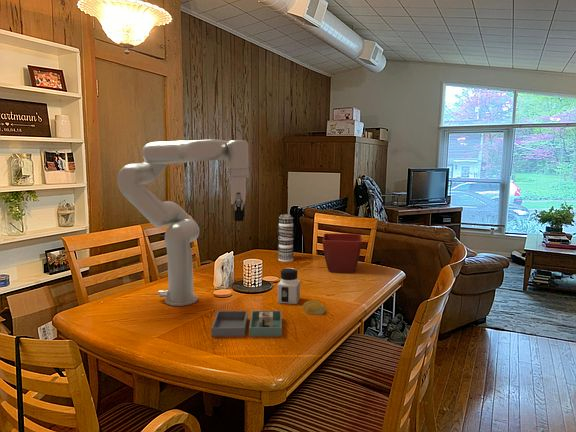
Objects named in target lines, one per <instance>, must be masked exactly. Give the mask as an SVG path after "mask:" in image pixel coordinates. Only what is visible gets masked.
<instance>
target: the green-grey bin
mask: <svg viewBox="0 0 576 432" xmlns="http://www.w3.org/2000/svg"><path fill="white" fill-rule="evenodd" d="M260 312H273V327H259V313H260ZM282 316H283V315H282V310H251V313H250V321H249V326H248V336H249V338H250V337H251V338H255V337H257V338H258V337H260V338H261V337H265V338H266V337H268V338H269V337H275V338H276V337H279V338H280V337H283V327H282V326H283V325H282V323H283V318H282Z"/></svg>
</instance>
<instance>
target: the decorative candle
mask: <svg viewBox="0 0 576 432" xmlns="http://www.w3.org/2000/svg"><path fill="white" fill-rule="evenodd" d="M278 218H279V219H278V224H277V225H278V226H277V229H278V230H277V235H278V236H277V238H278V246H277V248H278V250H277V251H278V253H277V254H278V256H277V257H278V261H279V262H284V263H285V262H287V263H288V262H292V261H294V250H295V249H294V243H293V242H294V241H293V240H294V238H295V236H294V235H295V234H294V232H295V226H294V221H293V220H294V217H293V216H292V215H291V214H285V213H284V214H280V216H278Z"/></svg>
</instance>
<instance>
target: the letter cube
mask: <svg viewBox="0 0 576 432" xmlns="http://www.w3.org/2000/svg"><path fill="white" fill-rule="evenodd" d="M259 327H273V312H260V313H259Z"/></svg>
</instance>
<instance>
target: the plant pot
mask: <svg viewBox="0 0 576 432" xmlns="http://www.w3.org/2000/svg"><path fill="white" fill-rule="evenodd" d="M321 242H322V249H323V254H324V259H325V263H326V268H327V271H328V272H329V273H348V274H349V273H351V274H355V272H356V269H357V266H358V263H359V259H360V255H361V251H362V250H361V249H362V243H363V240H362V234H359V233H358V234H357V233H324V234H323V237H322V241H321Z"/></svg>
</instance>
